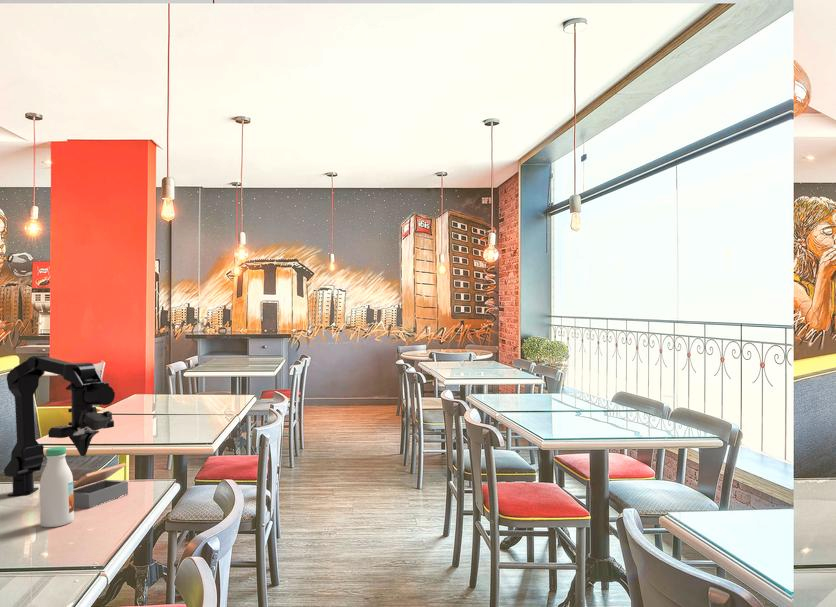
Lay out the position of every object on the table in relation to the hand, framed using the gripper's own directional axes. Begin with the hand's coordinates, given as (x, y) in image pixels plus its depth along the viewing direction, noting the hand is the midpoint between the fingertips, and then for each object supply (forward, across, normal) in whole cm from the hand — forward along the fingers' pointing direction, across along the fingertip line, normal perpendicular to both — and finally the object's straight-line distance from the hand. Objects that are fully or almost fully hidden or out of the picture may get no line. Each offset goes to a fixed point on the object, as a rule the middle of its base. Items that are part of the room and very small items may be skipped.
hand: (83, 455), depth 185 cm
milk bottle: (+13, -19, -13) cm, 27 cm away
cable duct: (+13, 0, -6) cm, 14 cm away
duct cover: (+6, 0, -6) cm, 8 cm away
